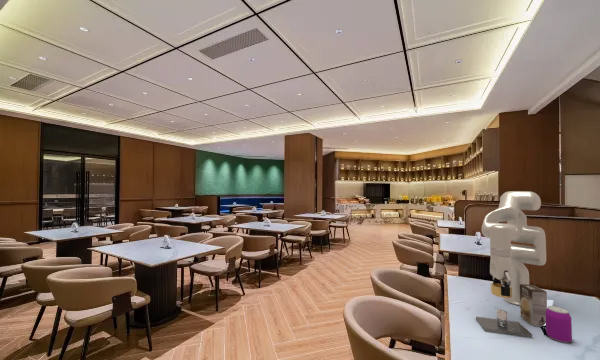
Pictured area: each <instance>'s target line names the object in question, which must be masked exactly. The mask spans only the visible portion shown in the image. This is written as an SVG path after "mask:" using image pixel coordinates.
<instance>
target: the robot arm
mask: <svg viewBox="0 0 600 360" xmlns="http://www.w3.org/2000/svg"><path fill="white" fill-rule="evenodd" d="M541 206H542V200H541V197H540V196H539V194H537V193H536V192H533V191H526V190H525V191H524V190H523V191H521V190H517V191H516V190H513V191H511V190H510V191H505V192H504V193H502V194H501V196H499V205H498V207H497V208H496V209H494V210H492V211H490V212H489V213H487V214H486V215H485V216H484V219H483V222H482V225H481V233H482V236H484V237H486V238H488V239H489V255H490V260H489V261H490V262H489V274H490V275H491V276H492V283H501V284H502V286H501V295H502V296H510V286H511V287H512V297H511V298H503V300H505V302H508V303H509V304H513V305H515V306H518V307H520V284H528V285H530V273H529V269H528V268H527V267H526V265H527V264H529V265H532V266H533V265H534V266H535V265H536V266H544V265H546V263H547V240H546V232H545V230H544V229H543V228H542V227H539V226H535V225H533V226H532V225H528V223H527V221H528V220H527V218H528V217H527V215H525V213H524V212H523V210H524V211H537V210H539V209H540V208H541ZM503 222H504V223H503ZM505 222H507V223H505ZM512 242H515V244H514V243H513V244H512ZM516 243H522V244H516ZM525 244H531V245H533V246H530V245H525ZM525 264H526V265H525Z"/></svg>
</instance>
